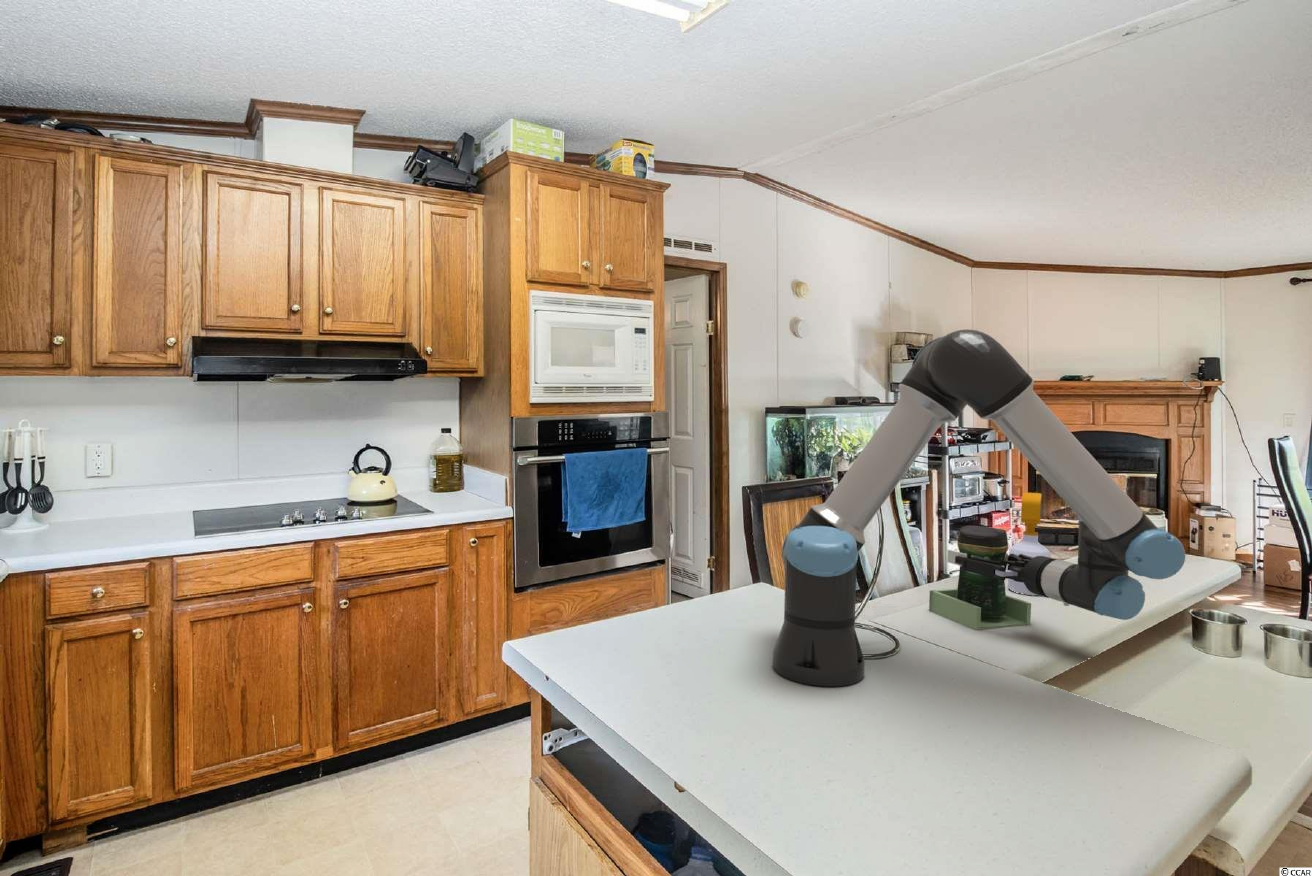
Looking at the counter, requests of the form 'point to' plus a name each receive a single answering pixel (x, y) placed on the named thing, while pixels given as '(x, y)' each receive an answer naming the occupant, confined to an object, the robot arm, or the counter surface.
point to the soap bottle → (1028, 536)
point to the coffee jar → (978, 586)
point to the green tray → (978, 611)
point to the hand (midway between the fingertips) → (966, 554)
